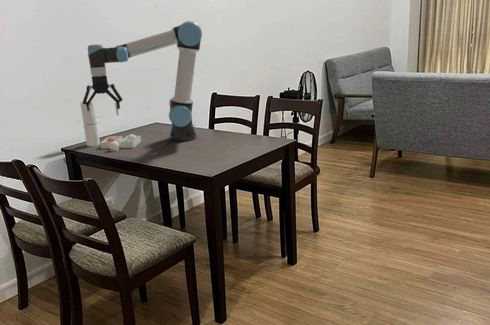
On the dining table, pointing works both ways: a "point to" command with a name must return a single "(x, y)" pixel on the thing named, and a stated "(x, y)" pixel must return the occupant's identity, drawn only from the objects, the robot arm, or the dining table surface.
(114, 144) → the ivory ball
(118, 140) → the tray offwhite
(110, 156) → the dining table surface
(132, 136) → the ivory ball
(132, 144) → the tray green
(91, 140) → the cylindrical container
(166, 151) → the dining table surface
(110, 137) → the terracotta ball
